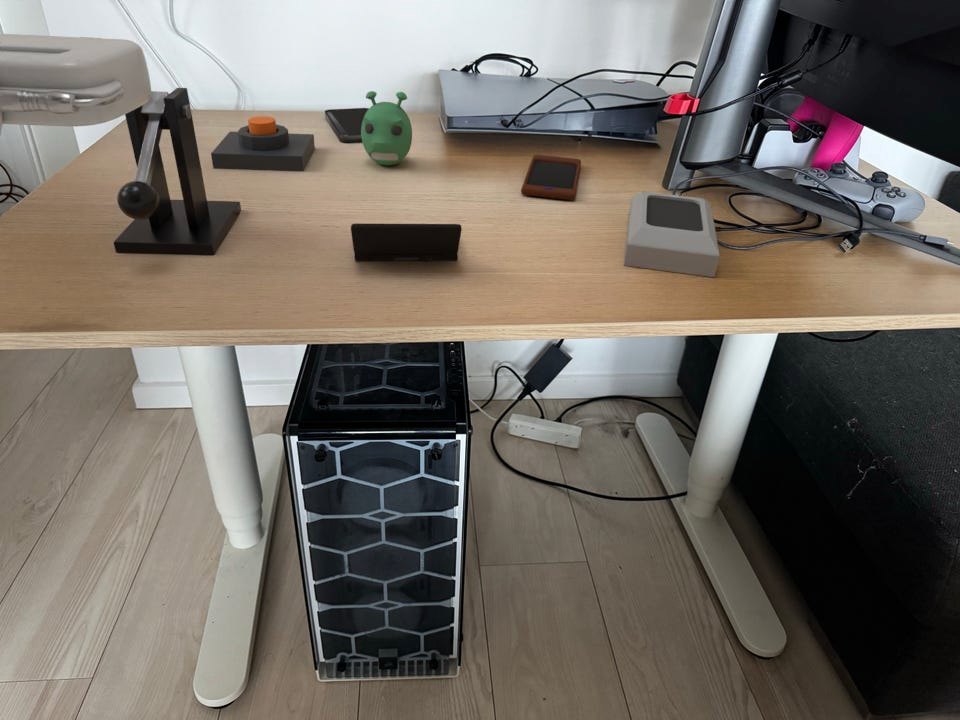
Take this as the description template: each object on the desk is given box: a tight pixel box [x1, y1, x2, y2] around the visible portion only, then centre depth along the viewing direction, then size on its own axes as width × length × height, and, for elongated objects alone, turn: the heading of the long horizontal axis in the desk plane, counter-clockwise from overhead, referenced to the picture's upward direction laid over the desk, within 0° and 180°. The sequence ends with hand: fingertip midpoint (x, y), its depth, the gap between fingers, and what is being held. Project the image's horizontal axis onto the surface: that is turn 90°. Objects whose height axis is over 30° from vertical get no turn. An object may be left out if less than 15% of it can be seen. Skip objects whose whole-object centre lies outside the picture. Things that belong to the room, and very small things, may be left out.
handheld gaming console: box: [350, 223, 463, 262], centre depth 74 cm, size 12×7×10 cm
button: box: [247, 115, 277, 135], centre depth 97 cm, size 4×4×2 cm
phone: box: [324, 107, 370, 144], centre depth 113 cm, size 8×1×15 cm
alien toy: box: [361, 90, 413, 167], centre depth 97 cm, size 7×8×10 cm
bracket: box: [113, 87, 242, 256], centre depth 74 cm, size 12×10×15 cm
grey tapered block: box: [623, 191, 721, 278], centre depth 81 cm, size 10×4×15 cm
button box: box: [210, 124, 316, 172], centre depth 98 cm, size 12×10×4 cm
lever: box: [116, 90, 170, 220], centre depth 69 cm, size 14×4×4 cm
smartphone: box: [520, 154, 582, 201], centre depth 97 cm, size 7×1×15 cm
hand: (25, 47), depth 48 cm, fingers open, 8 cm apart
